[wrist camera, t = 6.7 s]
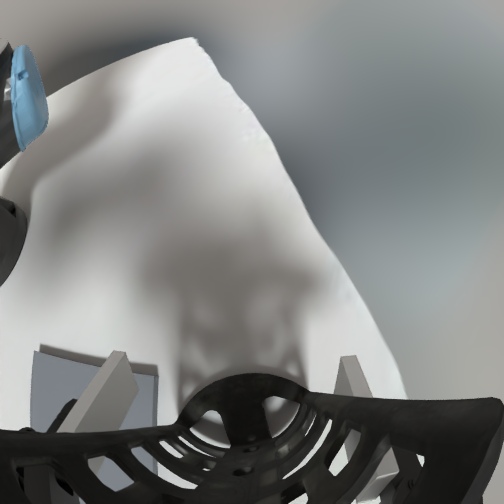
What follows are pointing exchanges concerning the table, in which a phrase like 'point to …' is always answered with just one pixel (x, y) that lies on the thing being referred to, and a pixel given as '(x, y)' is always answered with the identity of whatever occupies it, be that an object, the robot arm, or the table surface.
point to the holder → (275, 449)
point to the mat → (72, 386)
